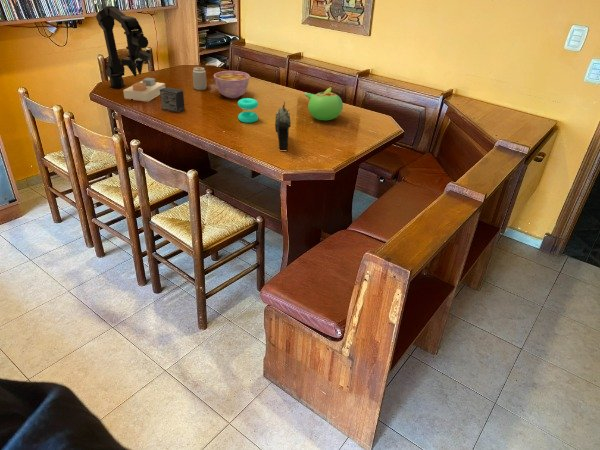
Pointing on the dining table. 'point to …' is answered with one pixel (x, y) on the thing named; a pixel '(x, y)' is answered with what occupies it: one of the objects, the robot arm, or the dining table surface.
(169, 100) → the small box
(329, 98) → the green rounded body
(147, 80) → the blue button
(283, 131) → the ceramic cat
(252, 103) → the donuts
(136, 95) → the console
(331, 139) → the dining table surface
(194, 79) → the can
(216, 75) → the bowl of food
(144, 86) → the orange button
